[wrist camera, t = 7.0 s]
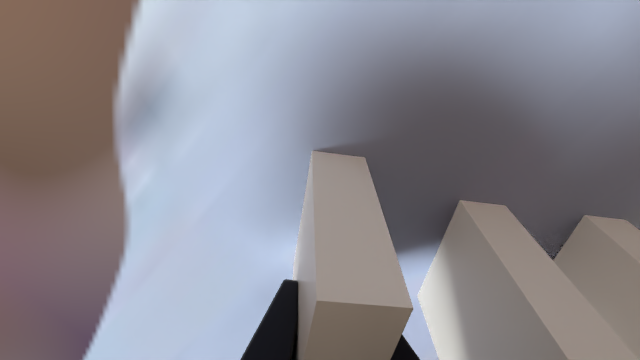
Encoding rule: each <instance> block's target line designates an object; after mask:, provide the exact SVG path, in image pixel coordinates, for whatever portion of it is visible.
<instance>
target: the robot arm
mask: <svg viewBox="0 0 640 360" xmlns="http://www.w3.org/2000/svg"><path fill="white" fill-rule="evenodd" d="M297 326H298V281H297V280H287V279H286V280H284V281H283V282H282V284H281V286H280V288H279V290H278V292H277V293H276V295H275V297H274V299H273V301H272V303H271V304H270V306H269V308H268V310H267V312H266V314H265V316H264V317H263V319H262V321H261V323H260V325H259V327H258V328H257V330H256V332H255V334H254V336H253V338H252V339H251V341H250V343H249V345H248V347H247V349H246V350H245V352H244V354H243V356H242V358H241V360H291V359H292V354H293V348H294V343H295V337H296V332H297ZM390 360H420V359H419V357H418V356H417V355H416V353H415V352H414V350H413V349H412V348H411V346H410V345H409V343H408V342H407V341H406V339H405V338H404V336H403V335H401V337H400V339H399V342H398V344H397V346H396V348H395V351H394V353H393V355H392V357H391V359H390Z"/></svg>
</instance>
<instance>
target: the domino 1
mask: <svg viewBox="0 0 640 360" xmlns="http://www.w3.org/2000/svg"><path fill="white" fill-rule="evenodd" d="M293 280H297V281H298V326H297V332H296V337H295V343H294V348H293V354H292V359H291V360H390V359H391V357H392V355H393V353H394V351H395V348H396V346H397V344H398V342H399V339H400V337H401V335H402V333H403V330H404V328H405V326H406V324H407V321H408V319H409V317H410V315H411V312H412V310H413V306H412V302H411V299H410V296H409V293H408V290H407V287H406V284H405V281H404V277H403V274H402V271H401V268H400V265H399V262H398V259H397V256H396V252H395V249H394V246H393V243H392V240H391V237H390V234H389V231H388V228H387V224H386V221H385V218H384V215H383V212H382V209H381V206H380V203H379V199H378V196H377V193H376V190H375V187H374V184H373V181H372V178H371V175H370V171H369V168H368V165H367V162H366V159H365V157H358V156H350V155H343V154H335V153H327V152H319V151H312V154H311V160H310V166H309V172H308V178H307V184H306V190H305V197H304V203H303V209H302V215H301V221H300V227H299V233H298V240H297V246H296V252H295V258H294V264H293Z"/></svg>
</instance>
